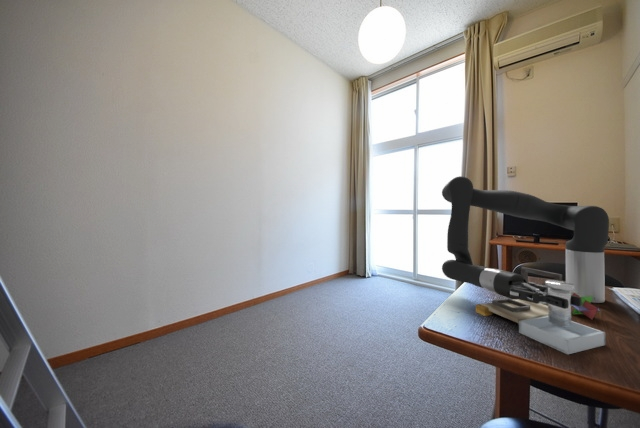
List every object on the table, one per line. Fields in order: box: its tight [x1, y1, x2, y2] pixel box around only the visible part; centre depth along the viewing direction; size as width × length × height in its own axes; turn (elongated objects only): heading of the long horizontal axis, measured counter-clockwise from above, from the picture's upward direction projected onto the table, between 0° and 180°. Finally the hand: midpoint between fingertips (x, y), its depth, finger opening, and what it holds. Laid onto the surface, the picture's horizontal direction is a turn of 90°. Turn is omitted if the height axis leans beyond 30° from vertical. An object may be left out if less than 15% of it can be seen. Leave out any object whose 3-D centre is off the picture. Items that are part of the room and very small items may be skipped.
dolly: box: [475, 266, 563, 325], centre depth 71 cm, size 20×12×13 cm, turn 105°
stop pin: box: [544, 279, 574, 327], centre depth 58 cm, size 5×5×10 cm
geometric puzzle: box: [571, 292, 602, 320], centre depth 70 cm, size 7×7×8 cm
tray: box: [518, 316, 606, 355], centre depth 58 cm, size 13×10×3 cm
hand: (573, 303), depth 56 cm, fingers closed on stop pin, 4 cm apart
